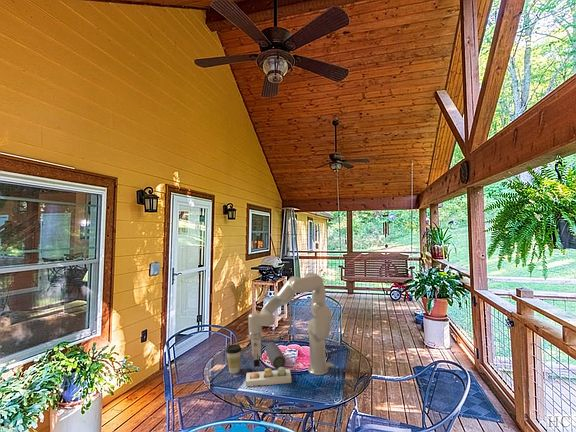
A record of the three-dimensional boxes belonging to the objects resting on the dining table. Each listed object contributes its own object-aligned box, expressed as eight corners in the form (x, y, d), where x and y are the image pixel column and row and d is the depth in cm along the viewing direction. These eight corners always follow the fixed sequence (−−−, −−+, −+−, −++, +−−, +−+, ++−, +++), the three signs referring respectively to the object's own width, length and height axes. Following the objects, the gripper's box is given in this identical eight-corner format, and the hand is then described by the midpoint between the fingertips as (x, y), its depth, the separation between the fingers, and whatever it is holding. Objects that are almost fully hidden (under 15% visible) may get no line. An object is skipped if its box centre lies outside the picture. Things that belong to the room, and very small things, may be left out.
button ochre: (271, 372, 179) (271, 367, 180) (272, 376, 175) (272, 371, 175) (264, 373, 179) (264, 368, 179) (264, 377, 175) (264, 372, 175)
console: (289, 373, 183) (289, 369, 183) (291, 382, 173) (291, 377, 173) (246, 377, 181) (246, 372, 181) (245, 386, 171) (245, 381, 171)
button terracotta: (258, 377, 179) (258, 372, 179) (258, 381, 174) (258, 376, 174) (251, 378, 178) (250, 373, 178) (250, 382, 174) (250, 376, 174)
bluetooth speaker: (264, 357, 208) (264, 342, 208) (277, 355, 210) (277, 340, 210) (272, 372, 186) (271, 356, 186) (286, 370, 188) (286, 354, 188)
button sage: (285, 371, 180) (285, 366, 180) (285, 375, 176) (285, 370, 176) (278, 372, 180) (277, 367, 180) (278, 376, 175) (278, 370, 176)
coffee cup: (239, 375, 184) (238, 350, 184) (224, 374, 186) (223, 350, 186) (244, 367, 193) (243, 344, 194) (230, 367, 195) (229, 343, 196)
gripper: (261, 338, 170) (263, 371, 170) (261, 329, 185) (263, 359, 184) (248, 340, 169) (249, 373, 169) (249, 330, 184) (250, 360, 184)
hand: (256, 365), depth 177 cm, fingers closed
